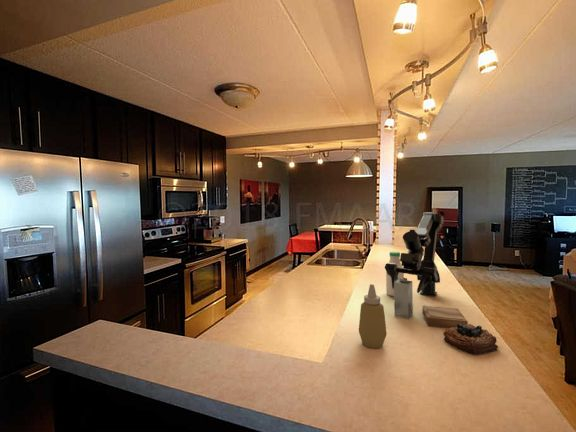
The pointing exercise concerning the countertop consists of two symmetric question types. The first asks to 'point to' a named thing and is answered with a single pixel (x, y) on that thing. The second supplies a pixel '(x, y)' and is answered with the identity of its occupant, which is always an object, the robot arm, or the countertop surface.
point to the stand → (443, 317)
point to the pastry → (471, 339)
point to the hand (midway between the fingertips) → (404, 290)
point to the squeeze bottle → (372, 320)
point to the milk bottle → (395, 260)
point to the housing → (403, 298)
